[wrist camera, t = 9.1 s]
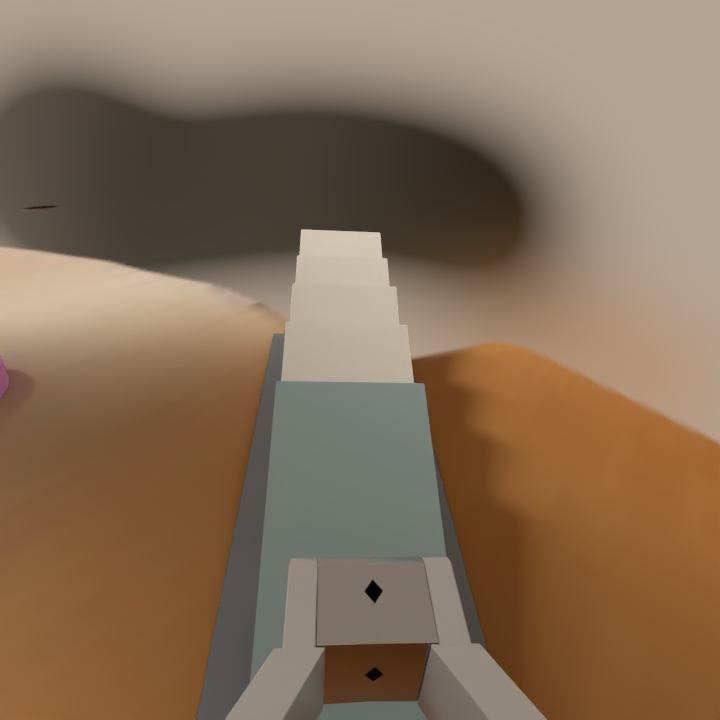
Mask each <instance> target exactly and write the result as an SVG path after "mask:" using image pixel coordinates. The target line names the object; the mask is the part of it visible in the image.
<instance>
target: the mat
mask: <svg viewBox="0 0 720 720" xmlns="http://www.w3.org/2000/svg"><path fill="white" fill-rule="evenodd" d="M284 339H285V334H274V335H273V340H272V345H271V350H270V355H269V360H268V365H267V370H266V375H265V380H264V385H263V390H262V395H261V400H260V405H259V410H258V415H257V420H256V425H255V430H254V434H253V439H252V444H251V449H250V454H249V459H248V464H247V469H246V474H245V479H244V484H243V489H242V494H241V499H240V504H239V509H238V514H237V519H236V524H235V529H234V534H233V539H232V544H231V549H230V553H229V558H228V563H227V568H226V573H225V578H224V583H223V588H222V593H221V598H220V603H219V608H218V613H217V618H216V623H215V628H214V633H213V638H212V643H211V648H210V653H209V658H208V663H207V668H206V673H205V677H204V682H203V687H202V692H201V697H200V702H199V707H198V712H197V717H196V720H225V719H226V717H227V716H228V714H229V713H230V711H231V710H232V708H233V707H234V706H235V704H236V703H237V701H238V700H239V698H240V697H241V695H242V694H243V693H244V691H245V690H246V688H247V687H248V685H249V684H250V678H251V666H252V655H253V643H254V632H255V620H256V609H257V597H258V585H259V574H260V562H261V551H262V539H263V528H264V516H265V505H266V493H267V482H268V470H269V459H270V447H271V436H272V424H273V412H274V401H275V389H276V381H281V376H282V364H283V351H284ZM413 379H414V375H413ZM414 383H416V382H415V379H414ZM432 448H433V446H432ZM433 456H434V464H435V471H436V479H437V487H438V495H439V503H440V511H441V519H442V527H443V534H444V542H445V550H446V557H448V558H449V560H450V561H451V564H452V568H453V572H454V576H455V580H456V584H457V588H458V592H459V596H460V600H461V604H462V608H463V612H464V616H465V620H466V624H467V628H468V632H469V636H470V640H471V643H478V644H480V645H481V646H482V647H483V648H484V649H485V650H486V651H487V648H486V644H485V640H484V636H483V633H482V629H481V625H480V621H479V618H478V614H477V610H476V606H475V603H474V599H473V595H472V592H471V588H470V584H469V580H468V577H467V573H466V569H465V565H464V562H463V558H462V554H461V550H460V547H459V543H458V539H457V536H456V532H455V528H454V524H453V521H452V517H451V513H450V509H449V506H448V502H447V498H446V494H445V491H444V487H443V483H442V480H441V476H440V472H439V468H438V465H437V461H436V457H435V453H434V450H433ZM487 652H488V651H487Z"/></svg>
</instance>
